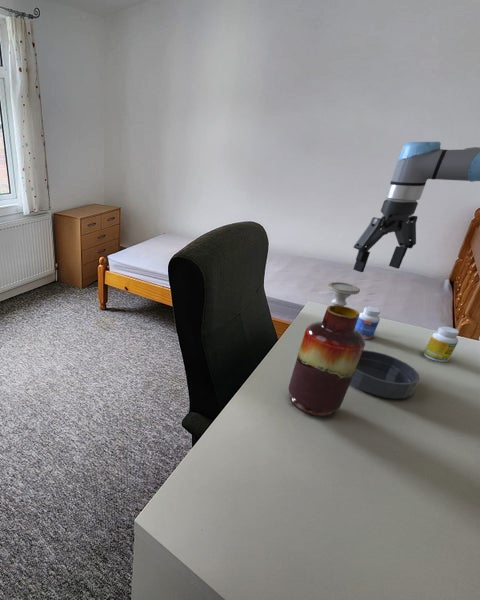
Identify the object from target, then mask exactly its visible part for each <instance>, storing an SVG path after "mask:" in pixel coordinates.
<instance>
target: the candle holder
mask: <svg viewBox="0 0 480 600" xmlns="http://www.w3.org/2000/svg"><path fill="white" fill-rule="evenodd" d="M327 288H328V289H329V290H330V291H332V292H333V293H332V294H333V295H334V298H332V299H331V300H330V302H331V303H332V304H331V306H332V305H339V306H347V305H348V303H347V301H346V299H348V298H350V297H351V296H352V295H358V294H359V293H360V291H361V290H360V287H358V286H357V285H354V284H351V283H349V282H342V281H341V282H340V281H333V282H330V283H328V284H327ZM321 321H323V318H321Z"/></svg>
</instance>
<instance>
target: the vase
mask: <svg viewBox="0 0 480 600" xmlns="http://www.w3.org/2000/svg"><path fill="white" fill-rule="evenodd" d="M323 315H324V316H323V317H322V319H323V321H322V320H319V321H314V322H312V323H310V324H309V325H307V327H306V328H305V331H304V334H303V337H302V339H301V343H300V347H299V349H298V350H299V351H298V353H297V357H296V360H295V363H294V367H293V370H292V374H291V376H290V380H289V385H288V392H289V395H290V396H289V398H290V399H289V400H290V403H292V405H293V407H295V408H296V409H298V411H300V412H301V413H304V414H307V415H309V416H312V417H317V418H328V417H330V416H331V415H332V414H333V412H334V411H337V410H338V409H340V408H341V406H342V404H343V402H344V399H345V397H346V394H347V392H348V390H349V387H350V385H351V383H350V382H351V380H352V377H353V375H354V372H355V370H356V367H357V365H358V362H359V359H360V357H361V354H362V352H363V350H365V349H364V348H365V346H366V340H365V339H364V338H363V336H362V335H361V334H360V332H358V331H357V330H356V329H355V327H356V324H357V321H358V318H359V315H360V312H359V311H358V310H355V308H351V307H348V306H346V305H344V306H339V305H332V304H331V305H328V306H327V307H326V309H325V312H324V314H323Z"/></svg>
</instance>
